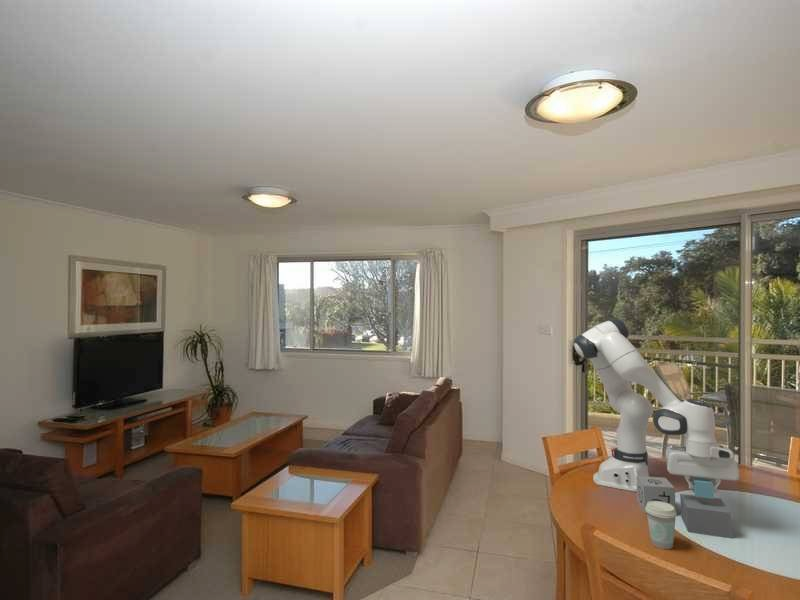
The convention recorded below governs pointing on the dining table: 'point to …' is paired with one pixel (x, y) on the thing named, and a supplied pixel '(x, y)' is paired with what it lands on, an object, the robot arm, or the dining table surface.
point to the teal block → (703, 487)
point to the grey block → (706, 516)
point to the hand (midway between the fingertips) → (702, 489)
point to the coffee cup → (661, 523)
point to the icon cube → (654, 491)
